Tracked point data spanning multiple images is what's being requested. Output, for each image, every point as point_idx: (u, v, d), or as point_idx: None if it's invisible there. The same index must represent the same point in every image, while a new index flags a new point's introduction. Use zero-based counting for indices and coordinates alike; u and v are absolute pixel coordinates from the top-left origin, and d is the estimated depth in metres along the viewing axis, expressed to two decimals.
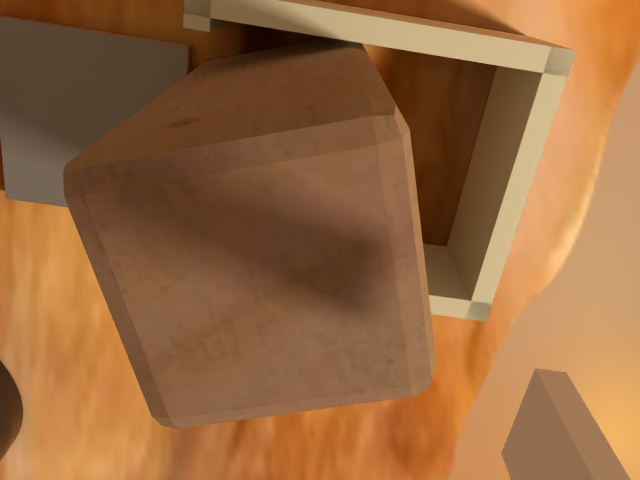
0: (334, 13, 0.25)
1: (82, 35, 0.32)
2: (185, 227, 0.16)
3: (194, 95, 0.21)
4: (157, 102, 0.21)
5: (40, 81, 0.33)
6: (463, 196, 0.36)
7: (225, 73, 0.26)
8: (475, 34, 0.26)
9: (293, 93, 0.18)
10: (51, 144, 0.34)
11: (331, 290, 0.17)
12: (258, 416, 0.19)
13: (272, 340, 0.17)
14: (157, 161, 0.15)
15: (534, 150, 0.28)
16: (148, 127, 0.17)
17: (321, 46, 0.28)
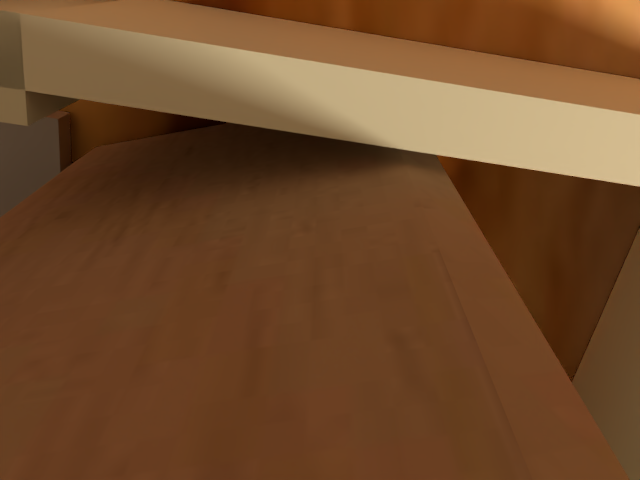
0: (364, 78, 0.09)
1: None
2: None
3: None
4: None
5: None
6: (585, 377, 0.20)
7: (68, 241, 0.09)
8: None
9: None
10: None
11: None
12: None
13: None
14: None
15: None
16: None
17: (329, 141, 0.12)
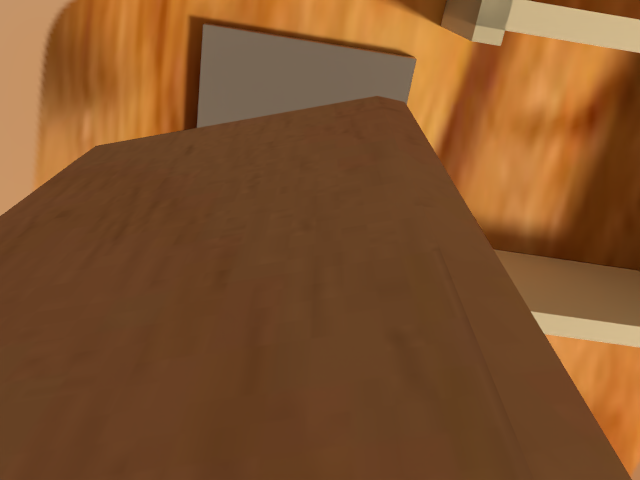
0: None
1: (302, 46, 0.29)
2: None
3: None
4: None
5: (247, 96, 0.30)
6: None
7: (68, 240, 0.09)
8: None
9: None
10: None
11: None
12: None
13: None
14: None
15: None
16: None
17: (329, 139, 0.12)
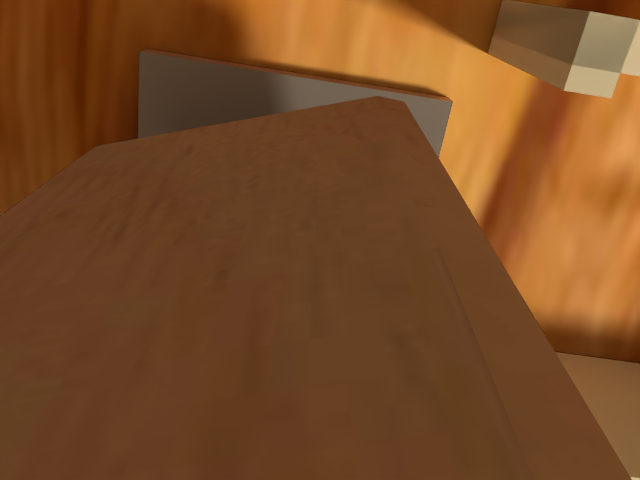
0: None
1: (286, 83, 0.20)
2: None
3: None
4: None
5: None
6: None
7: (68, 240, 0.09)
8: None
9: None
10: None
11: None
12: None
13: None
14: None
15: None
16: None
17: (329, 140, 0.12)
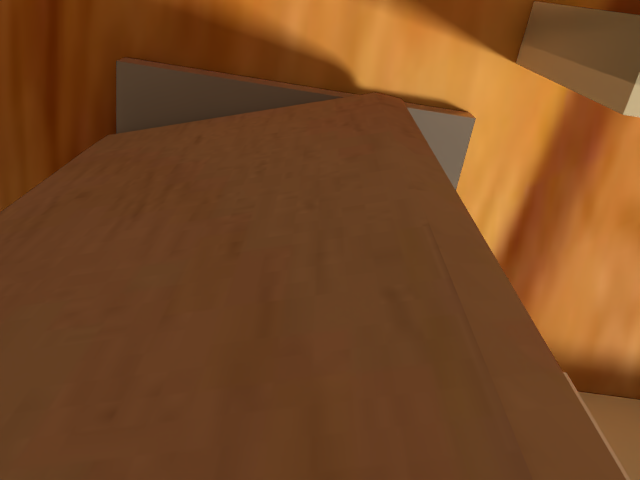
0: None
1: (284, 97, 0.17)
2: None
3: None
4: None
5: None
6: None
7: (90, 217, 0.10)
8: None
9: None
10: None
11: None
12: None
13: None
14: None
15: None
16: None
17: (330, 131, 0.13)
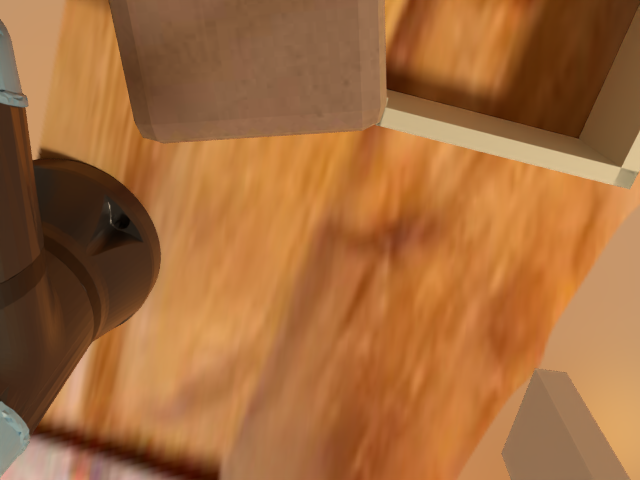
0: None
1: None
2: None
3: None
4: None
5: None
6: (605, 88, 0.40)
7: None
8: None
9: None
10: None
11: (302, 1, 0.19)
12: (228, 134, 0.22)
13: (247, 49, 0.20)
14: None
15: None
16: None
17: None
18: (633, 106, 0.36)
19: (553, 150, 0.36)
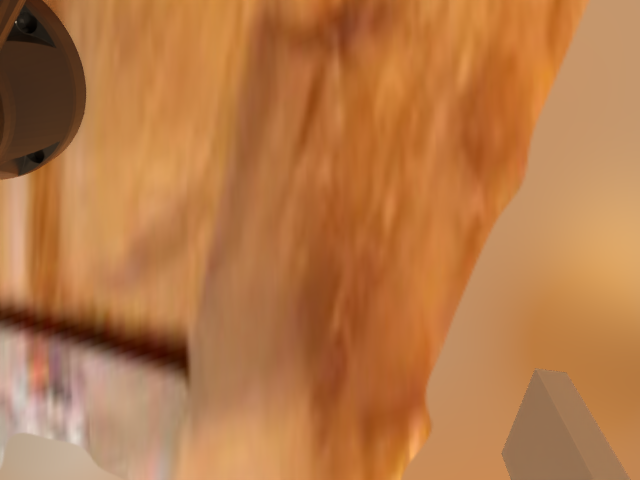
0: None
1: None
2: None
3: None
4: None
5: None
6: None
7: None
8: None
9: None
10: None
11: None
12: None
13: None
14: None
15: None
16: None
17: None
18: None
19: None
